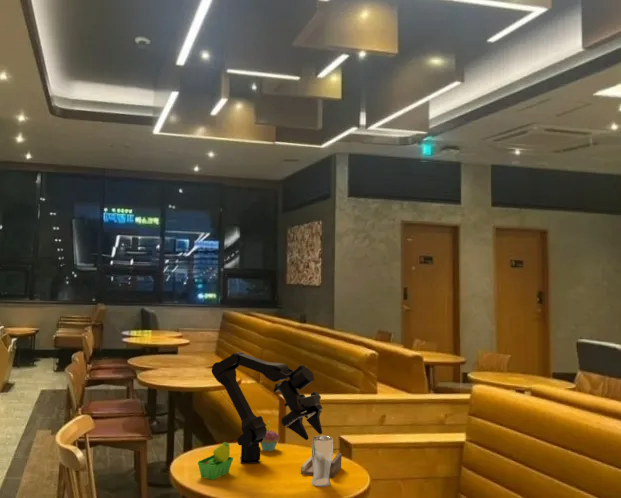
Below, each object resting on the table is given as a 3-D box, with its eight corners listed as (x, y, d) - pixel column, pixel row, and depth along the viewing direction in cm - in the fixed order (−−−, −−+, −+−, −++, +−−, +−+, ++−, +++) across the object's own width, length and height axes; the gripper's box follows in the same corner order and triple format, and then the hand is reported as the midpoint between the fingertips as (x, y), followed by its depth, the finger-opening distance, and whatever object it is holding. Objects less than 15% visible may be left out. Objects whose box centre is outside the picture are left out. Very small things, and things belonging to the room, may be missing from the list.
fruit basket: (215, 468, 219) (216, 435, 219) (236, 473, 215) (238, 439, 215) (195, 477, 209) (197, 443, 209) (217, 482, 205) (219, 447, 205)
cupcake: (278, 453, 239) (279, 421, 240) (255, 452, 239) (257, 420, 240) (279, 446, 248) (280, 416, 248) (258, 445, 248) (259, 415, 248)
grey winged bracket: (300, 473, 217) (301, 459, 217) (310, 463, 228) (311, 449, 229) (333, 478, 214) (333, 463, 214) (341, 467, 225) (341, 453, 225)
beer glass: (329, 488, 204) (331, 441, 204) (308, 486, 205) (310, 439, 205) (333, 481, 211) (334, 436, 211) (312, 479, 212) (314, 434, 212)
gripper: (293, 388, 209) (317, 430, 204) (321, 380, 225) (344, 419, 220) (271, 405, 214) (293, 447, 208) (300, 396, 230) (321, 435, 224)
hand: (314, 436), depth 215 cm, fingers open, 9 cm apart
